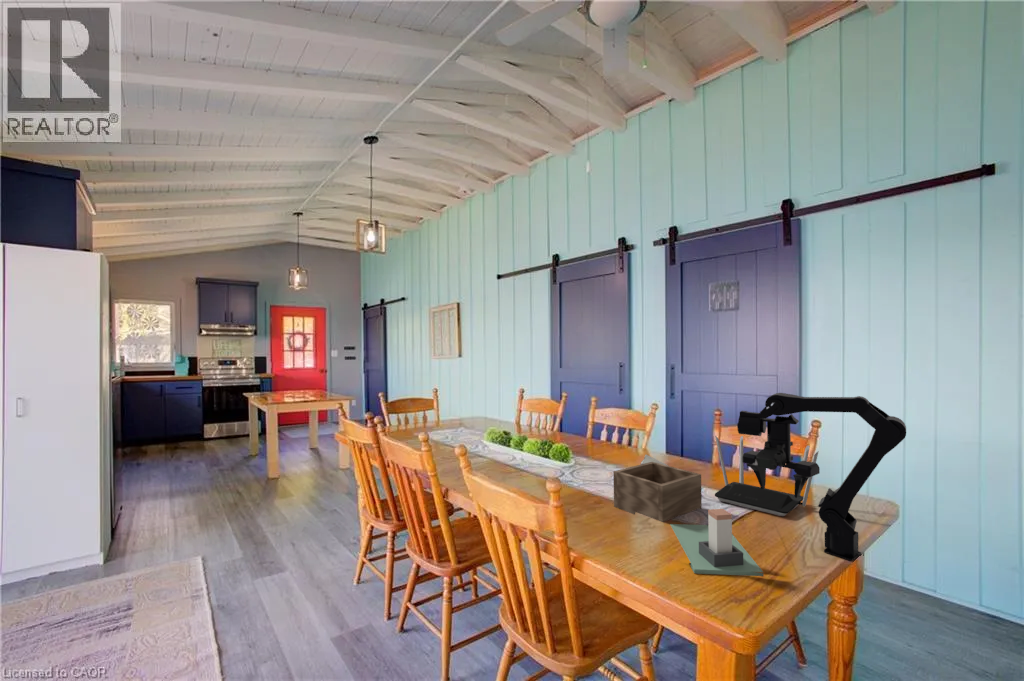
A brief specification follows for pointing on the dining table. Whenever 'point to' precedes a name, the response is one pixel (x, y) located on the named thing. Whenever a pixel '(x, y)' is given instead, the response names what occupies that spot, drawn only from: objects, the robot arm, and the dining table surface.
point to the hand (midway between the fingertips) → (779, 493)
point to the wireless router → (760, 491)
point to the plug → (720, 530)
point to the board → (690, 543)
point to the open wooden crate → (657, 491)
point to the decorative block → (650, 460)
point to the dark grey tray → (721, 556)
